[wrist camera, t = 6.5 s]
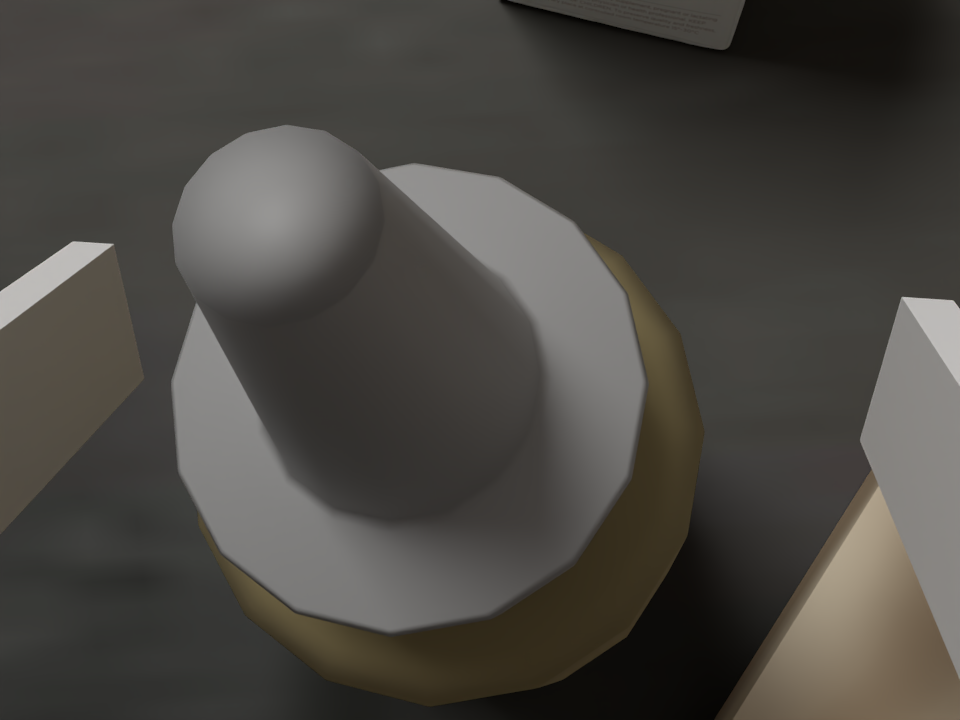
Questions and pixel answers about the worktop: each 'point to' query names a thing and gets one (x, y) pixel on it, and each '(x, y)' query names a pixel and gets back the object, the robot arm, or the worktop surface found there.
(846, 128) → the worktop surface
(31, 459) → the robot arm
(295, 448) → the squeeze bottle
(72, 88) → the worktop surface
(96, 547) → the worktop surface
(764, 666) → the board
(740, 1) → the supplement box
